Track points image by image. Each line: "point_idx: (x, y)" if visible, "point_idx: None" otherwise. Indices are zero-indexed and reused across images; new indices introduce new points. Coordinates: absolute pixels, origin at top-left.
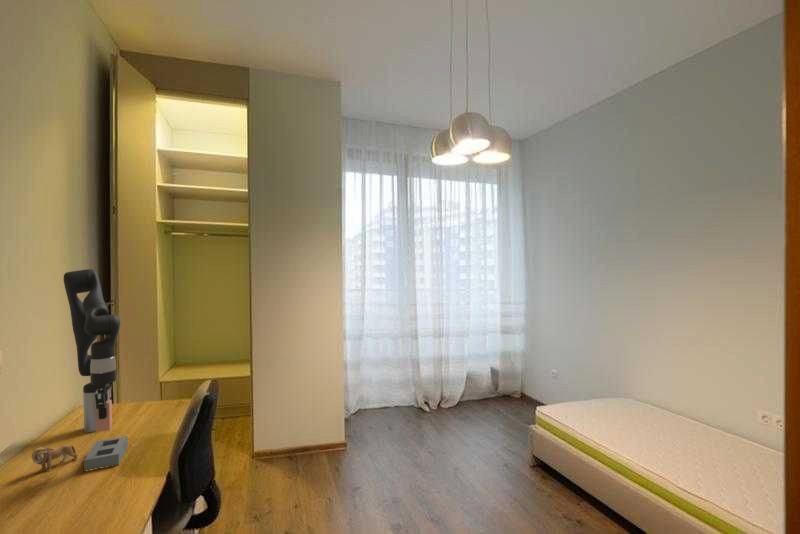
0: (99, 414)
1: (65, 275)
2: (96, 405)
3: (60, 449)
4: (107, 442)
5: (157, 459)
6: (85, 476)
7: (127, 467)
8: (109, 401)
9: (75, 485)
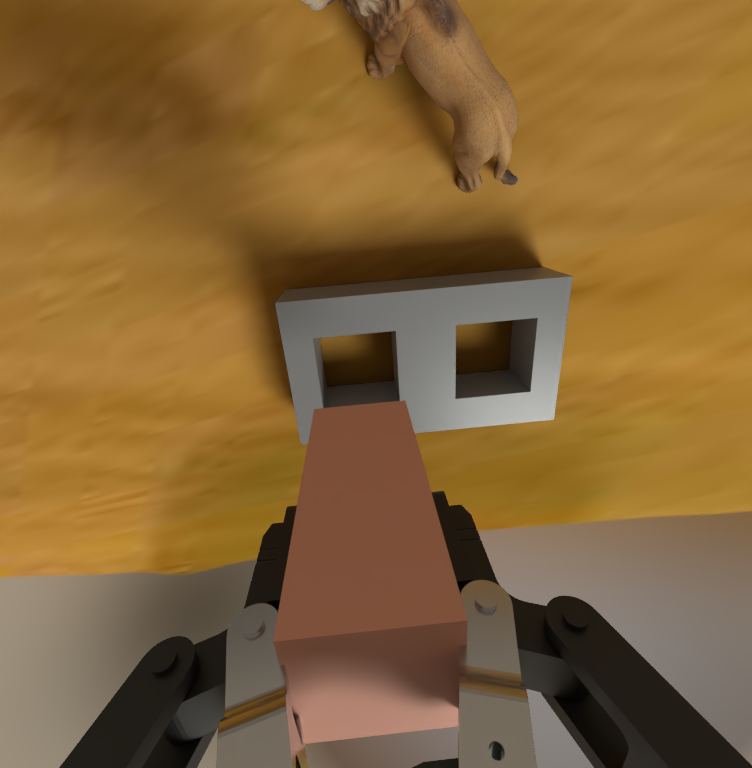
0: (282, 546)
1: None
2: (98, 719)
3: (449, 94)
4: (532, 334)
5: None
6: (227, 312)
7: (268, 453)
8: (375, 728)
9: (138, 300)
